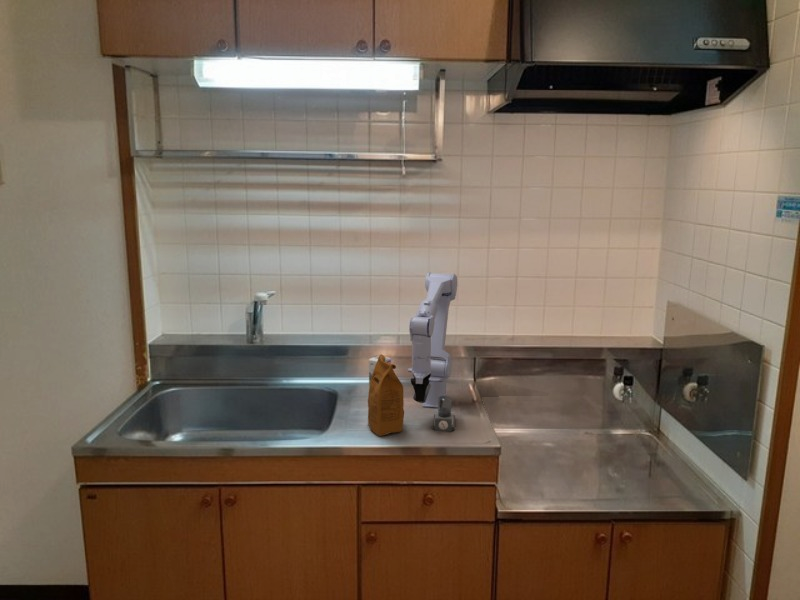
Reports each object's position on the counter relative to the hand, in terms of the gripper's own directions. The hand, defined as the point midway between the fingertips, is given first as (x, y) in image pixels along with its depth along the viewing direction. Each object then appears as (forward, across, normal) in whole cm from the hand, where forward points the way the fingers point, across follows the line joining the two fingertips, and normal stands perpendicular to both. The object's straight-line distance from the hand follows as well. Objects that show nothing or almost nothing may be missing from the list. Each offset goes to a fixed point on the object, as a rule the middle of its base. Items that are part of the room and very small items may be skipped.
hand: (420, 398), depth 180 cm
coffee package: (+9, +4, -10) cm, 14 cm away
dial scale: (+8, -1, +7) cm, 11 cm away
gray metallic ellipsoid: (+7, -4, +7) cm, 11 cm away
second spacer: (0, 0, 0) cm, 1 cm away
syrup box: (+9, -20, -16) cm, 26 cm away
